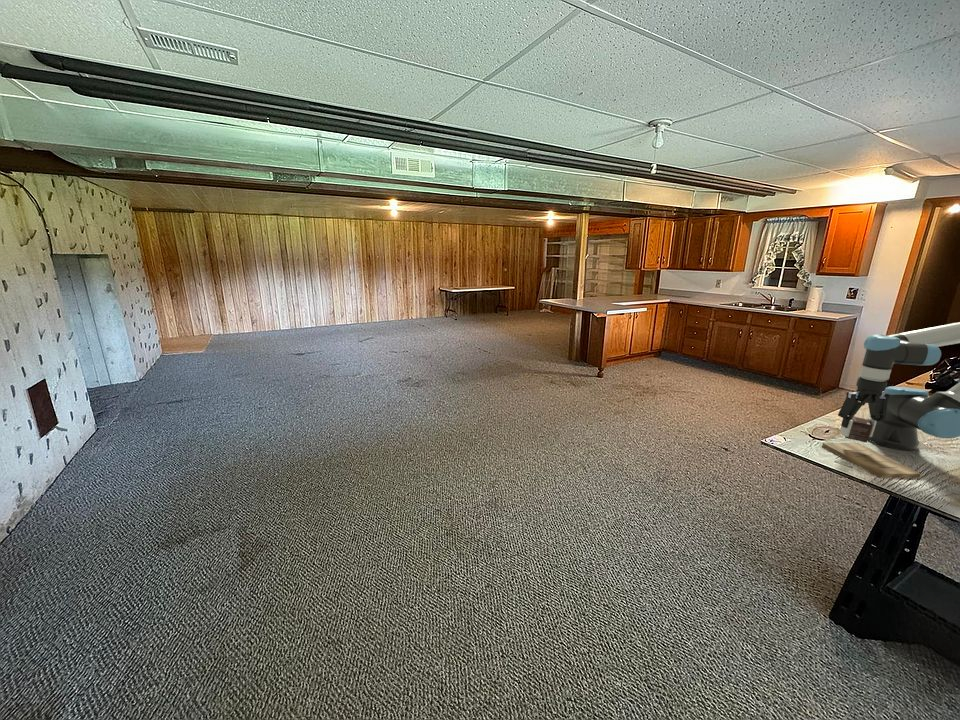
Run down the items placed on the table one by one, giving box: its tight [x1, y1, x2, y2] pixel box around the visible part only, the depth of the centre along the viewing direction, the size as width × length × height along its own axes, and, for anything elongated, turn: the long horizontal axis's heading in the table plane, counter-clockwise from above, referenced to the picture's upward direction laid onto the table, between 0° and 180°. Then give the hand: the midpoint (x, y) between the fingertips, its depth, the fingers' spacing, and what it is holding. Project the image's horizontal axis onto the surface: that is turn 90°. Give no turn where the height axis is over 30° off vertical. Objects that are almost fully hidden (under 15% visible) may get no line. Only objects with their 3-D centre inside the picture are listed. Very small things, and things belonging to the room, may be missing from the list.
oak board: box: [821, 442, 922, 479], centre depth 138 cm, size 14×22×2 cm, turn 0°
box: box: [844, 416, 872, 443], centre depth 142 cm, size 6×6×7 cm
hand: (855, 435), depth 143 cm, fingers closed on box, 8 cm apart
